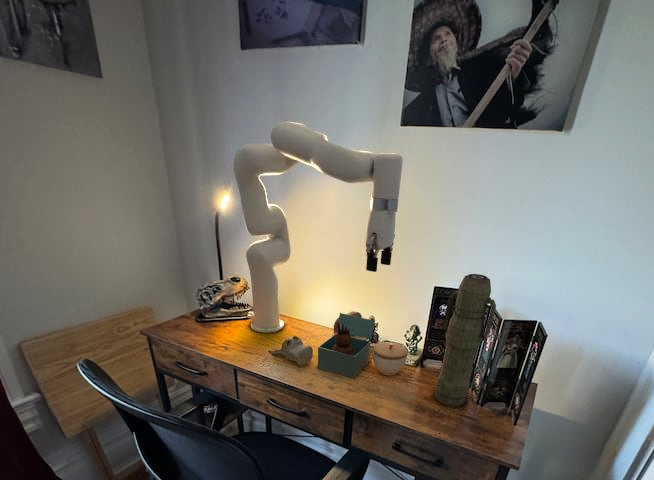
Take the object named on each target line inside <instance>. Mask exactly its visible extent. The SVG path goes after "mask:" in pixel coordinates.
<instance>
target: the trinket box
mask: <svg viewBox="0 0 654 480" xmlns="http://www.w3.org/2000/svg"><path fill="white" fill-rule="evenodd" d="M372 351H373V353H372V361H373V364H374V366H375V368H376V369H377V371H378V372H379V374H381V375H384V376H394V375H397V374H398V373H399V372H400V371H402V370H403V369H404V367H405V365H406V362H407V359H408V355H409V350H408V348H407V347H406V346H405V345H404V344H401V343H399V342H394V341H381V342H378V343H376V344H375V345H373V349H372Z"/></svg>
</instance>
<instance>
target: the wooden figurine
mask: <svg viewBox="0 0 654 480" xmlns="http://www.w3.org/2000/svg"><path fill="white" fill-rule="evenodd" d="M351 337H352V336H351V335H350V332H349V329H348V330H347V327H345V330H344V324H342V328H341V329H340V325H339V322H338V328H337V335H336V337H335V341H336V344H335V345H334V346H333V348H332V350H333V351H336V352H340V353H344V354H348V355H352V356H353V353H354V350H353V347H352V346H351V345H350V343H351Z"/></svg>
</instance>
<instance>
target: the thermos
mask: <svg viewBox="0 0 654 480" xmlns="http://www.w3.org/2000/svg"><path fill="white" fill-rule="evenodd" d="M491 283H492V282H491V279H490V278H489V277H488V276H487V275H483V274H479V273H469V274H467V275H465V276H464V277H463V278H462V280H461V282H460V283H459V286H458V290H456V291H453V292H451V294H450V295H448V298H447V305H446V311H445V317H444V322H443V328H444V329H445V331H446V336H445V343H446V345H445V350H444V355H443V359H442V360H443V361H442V364H441V369H440V373H439V375H438V376H437V378H436V384H435V392H434V398H435V400H436V401H437V402H438V403H440V404H442V405H444V406H448V407H461V406H463V405H464V404H465V402H466V399H467V396H468V393H469V390H470V386H471V373H472V369H473V366H474V362H475V358H476V354H477V351H478V348H479V347H480V346H481V342H486V340H488V337H489V333H490V331H491V327H492V323H493V319H494V316H495V312H496V308H497V304H496V302H495V299H493V298H492V297H491V294H492V286H491ZM455 298H456V299H455ZM454 303H455V304H454ZM489 305H490V311H489V314H488V319H487V323H486V326H485V317H486V316H485V313H486V311H487V309H488V306H489ZM453 307H455V308H454V309H453ZM452 311H453V313H452Z"/></svg>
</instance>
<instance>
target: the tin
mask: <svg viewBox="0 0 654 480" xmlns="http://www.w3.org/2000/svg"><path fill="white" fill-rule="evenodd" d="M346 314H347V315H352V316H356V317H361V318H363V317H362V313H360V312H359V311H349V312H347V313H346ZM338 320H339V317H337V318H336V319H335V321H334V323H333V335H334V334H336V333H337V325H338ZM351 337H353V335H351Z"/></svg>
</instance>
